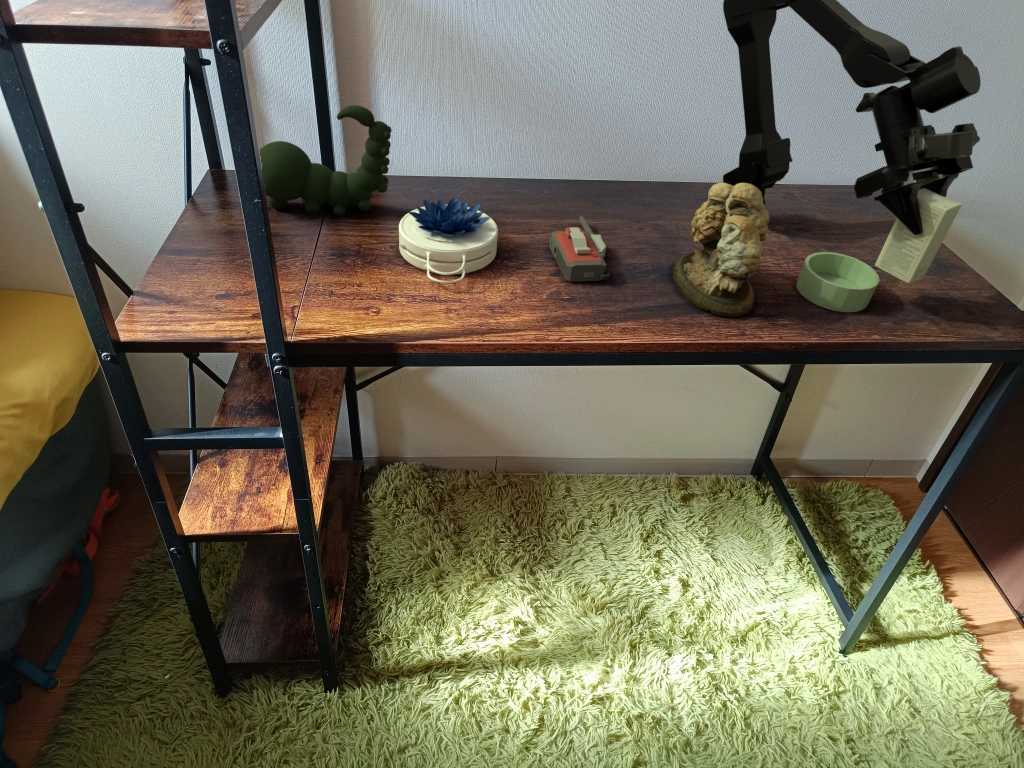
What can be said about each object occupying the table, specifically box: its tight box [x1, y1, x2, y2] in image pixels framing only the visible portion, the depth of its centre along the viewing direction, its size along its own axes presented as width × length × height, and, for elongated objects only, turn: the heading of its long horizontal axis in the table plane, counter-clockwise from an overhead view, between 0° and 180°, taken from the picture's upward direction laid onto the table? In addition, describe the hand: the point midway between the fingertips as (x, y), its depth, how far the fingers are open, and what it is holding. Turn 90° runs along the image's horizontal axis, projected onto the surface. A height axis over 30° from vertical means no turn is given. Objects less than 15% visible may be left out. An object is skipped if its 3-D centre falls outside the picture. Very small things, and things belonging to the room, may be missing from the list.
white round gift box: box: [398, 197, 499, 284], centre depth 108 cm, size 7×16×20 cm
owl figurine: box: [672, 182, 770, 318], centre depth 104 cm, size 18×12×17 cm, turn 11°
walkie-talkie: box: [549, 215, 610, 283], centre depth 113 cm, size 9×4×20 cm
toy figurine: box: [259, 104, 393, 217], centre depth 114 cm, size 9×19×25 cm
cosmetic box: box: [874, 188, 963, 284], centre depth 103 cm, size 6×4×12 cm
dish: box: [795, 251, 880, 313], centre depth 110 cm, size 11×11×4 cm
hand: (928, 231), depth 101 cm, fingers closed on cosmetic box, 4 cm apart
